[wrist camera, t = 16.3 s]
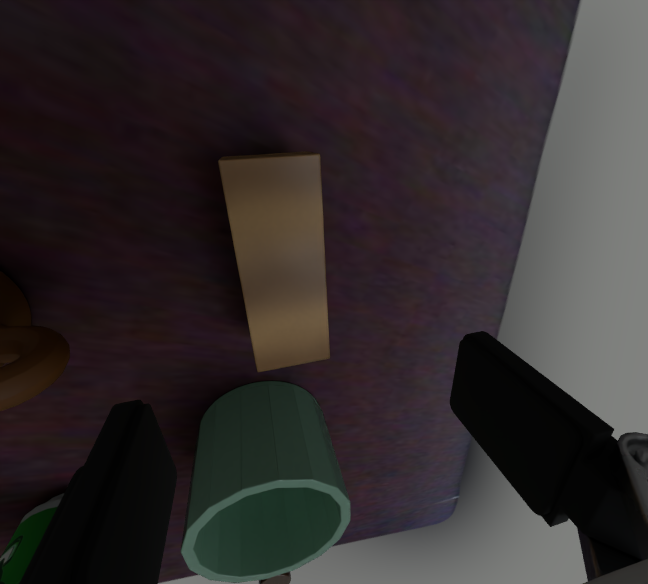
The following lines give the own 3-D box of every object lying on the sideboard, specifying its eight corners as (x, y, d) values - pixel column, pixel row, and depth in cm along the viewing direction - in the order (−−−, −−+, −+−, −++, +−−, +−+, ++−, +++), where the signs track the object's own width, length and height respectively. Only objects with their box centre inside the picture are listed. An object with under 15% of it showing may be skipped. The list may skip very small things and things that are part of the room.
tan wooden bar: (222, 155, 18) (217, 160, 14) (302, 150, 18) (320, 153, 14) (254, 332, 23) (257, 373, 19) (314, 321, 24) (330, 358, 20)
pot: (184, 396, 24) (159, 512, 17) (318, 369, 26) (349, 461, 19) (212, 481, 29) (204, 600, 21) (324, 452, 31) (351, 551, 23)
